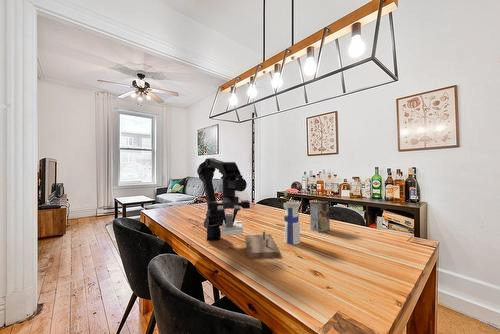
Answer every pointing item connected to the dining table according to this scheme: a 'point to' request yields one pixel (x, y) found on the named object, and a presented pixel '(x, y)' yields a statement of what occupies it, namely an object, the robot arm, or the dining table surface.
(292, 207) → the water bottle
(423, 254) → the dining table surface
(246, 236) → the peg board
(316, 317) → the dining table surface
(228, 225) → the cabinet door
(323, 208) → the coffee box
